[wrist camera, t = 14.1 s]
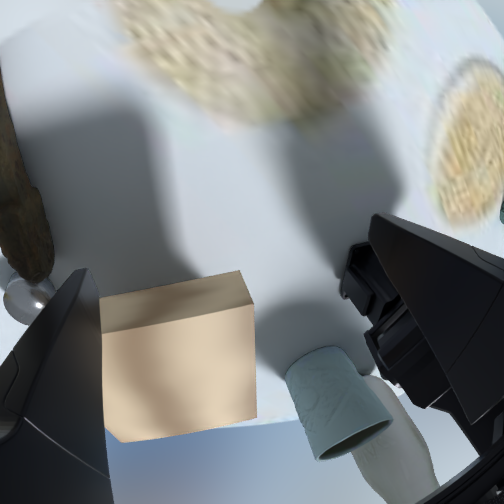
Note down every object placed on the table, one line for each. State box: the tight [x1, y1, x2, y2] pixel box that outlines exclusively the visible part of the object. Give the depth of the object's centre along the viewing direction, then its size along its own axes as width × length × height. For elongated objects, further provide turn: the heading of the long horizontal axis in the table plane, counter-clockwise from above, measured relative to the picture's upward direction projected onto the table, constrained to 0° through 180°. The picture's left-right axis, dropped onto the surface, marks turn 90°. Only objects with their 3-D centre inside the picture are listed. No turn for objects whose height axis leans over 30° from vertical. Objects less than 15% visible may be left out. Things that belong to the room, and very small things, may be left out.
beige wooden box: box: [42, 270, 257, 443], centre depth 21 cm, size 11×13×10 cm
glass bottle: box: [351, 375, 440, 504], centre depth 36 cm, size 10×10×28 cm
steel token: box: [3, 272, 56, 326], centre depth 20 cm, size 4×4×2 cm
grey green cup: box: [285, 346, 394, 462], centre depth 34 cm, size 10×10×12 cm
